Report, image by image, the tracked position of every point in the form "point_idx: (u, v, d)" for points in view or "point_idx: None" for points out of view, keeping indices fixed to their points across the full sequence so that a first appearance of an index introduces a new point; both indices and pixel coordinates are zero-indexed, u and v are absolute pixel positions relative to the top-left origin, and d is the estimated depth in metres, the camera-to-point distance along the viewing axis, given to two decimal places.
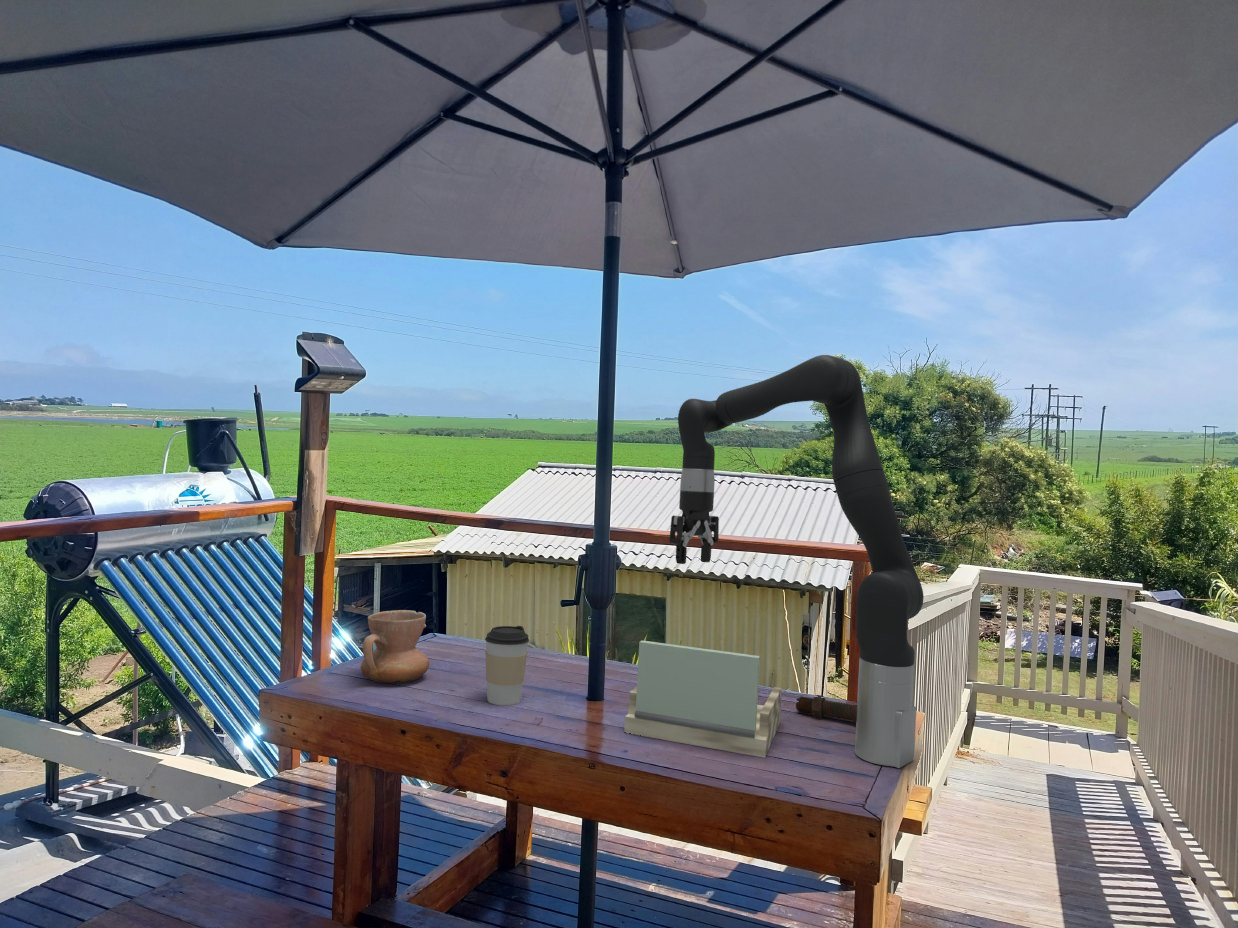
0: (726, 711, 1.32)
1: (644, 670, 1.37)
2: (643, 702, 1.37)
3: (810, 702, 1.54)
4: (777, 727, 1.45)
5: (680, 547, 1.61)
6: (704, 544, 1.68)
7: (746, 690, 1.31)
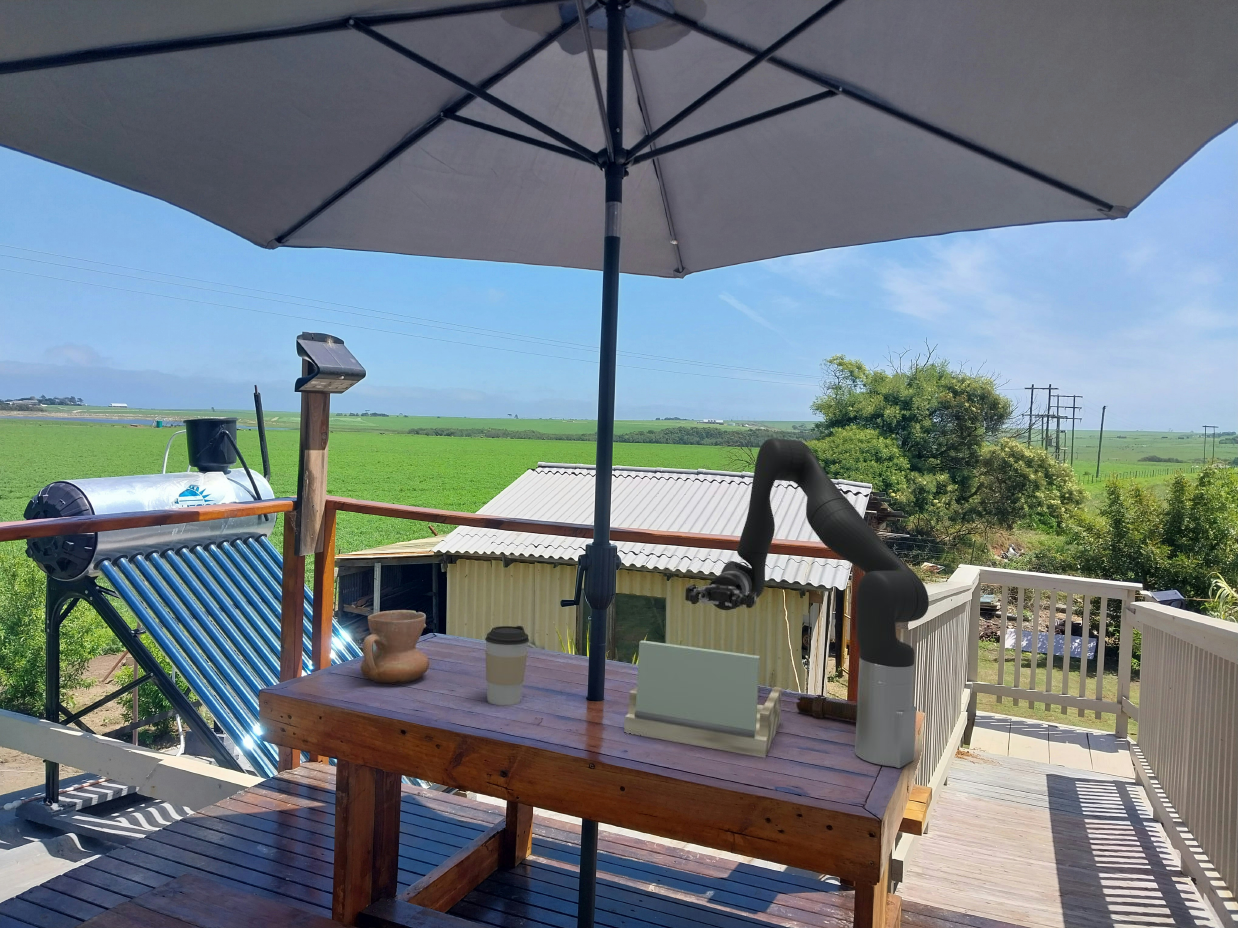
0: (726, 711, 1.32)
1: (644, 670, 1.37)
2: (643, 702, 1.37)
3: (811, 702, 1.54)
4: (777, 727, 1.45)
5: (692, 593, 1.50)
6: None
7: (746, 690, 1.31)
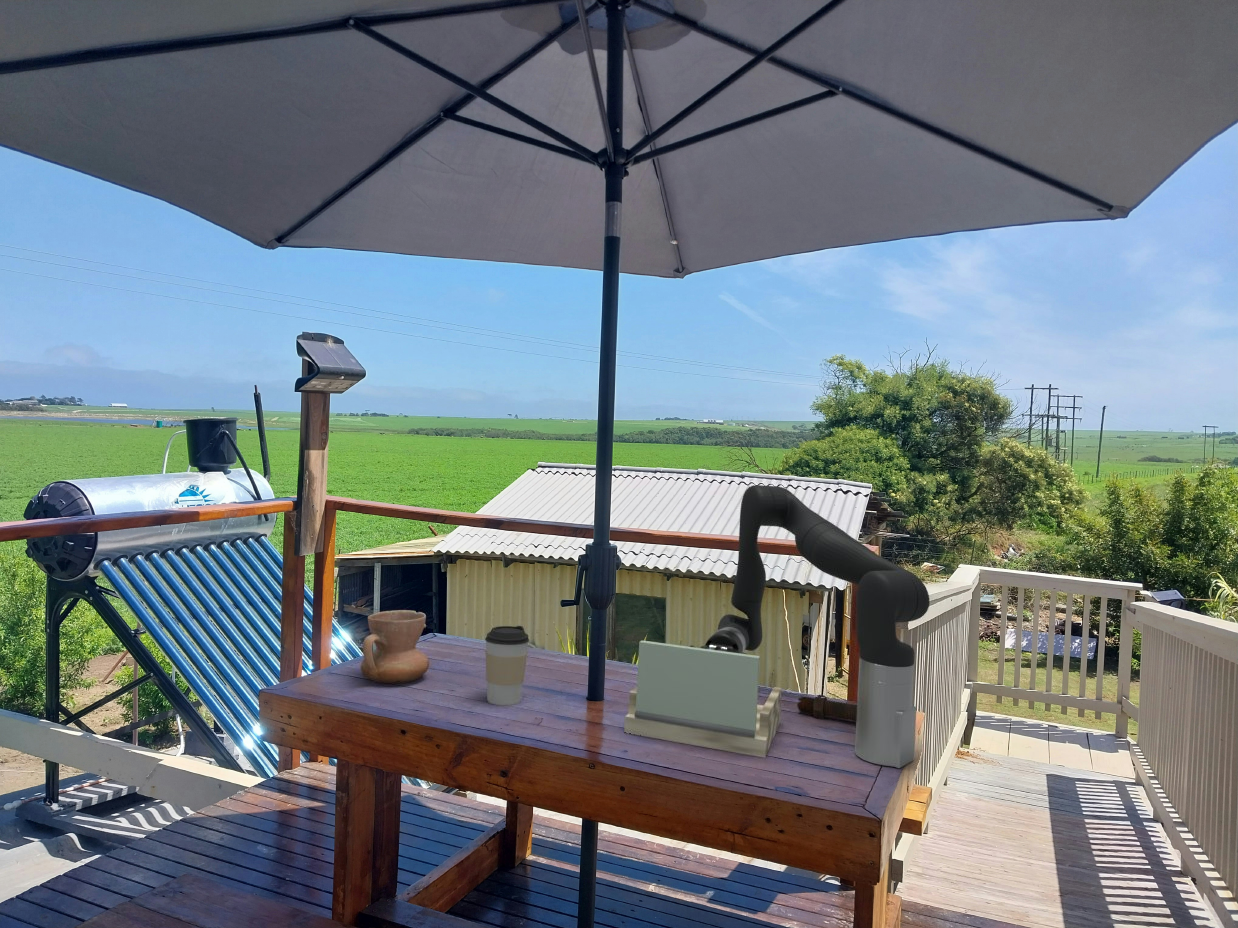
0: (726, 711, 1.32)
1: (644, 670, 1.37)
2: (643, 702, 1.37)
3: (812, 702, 1.54)
4: (777, 727, 1.45)
5: None
6: None
7: (746, 690, 1.31)
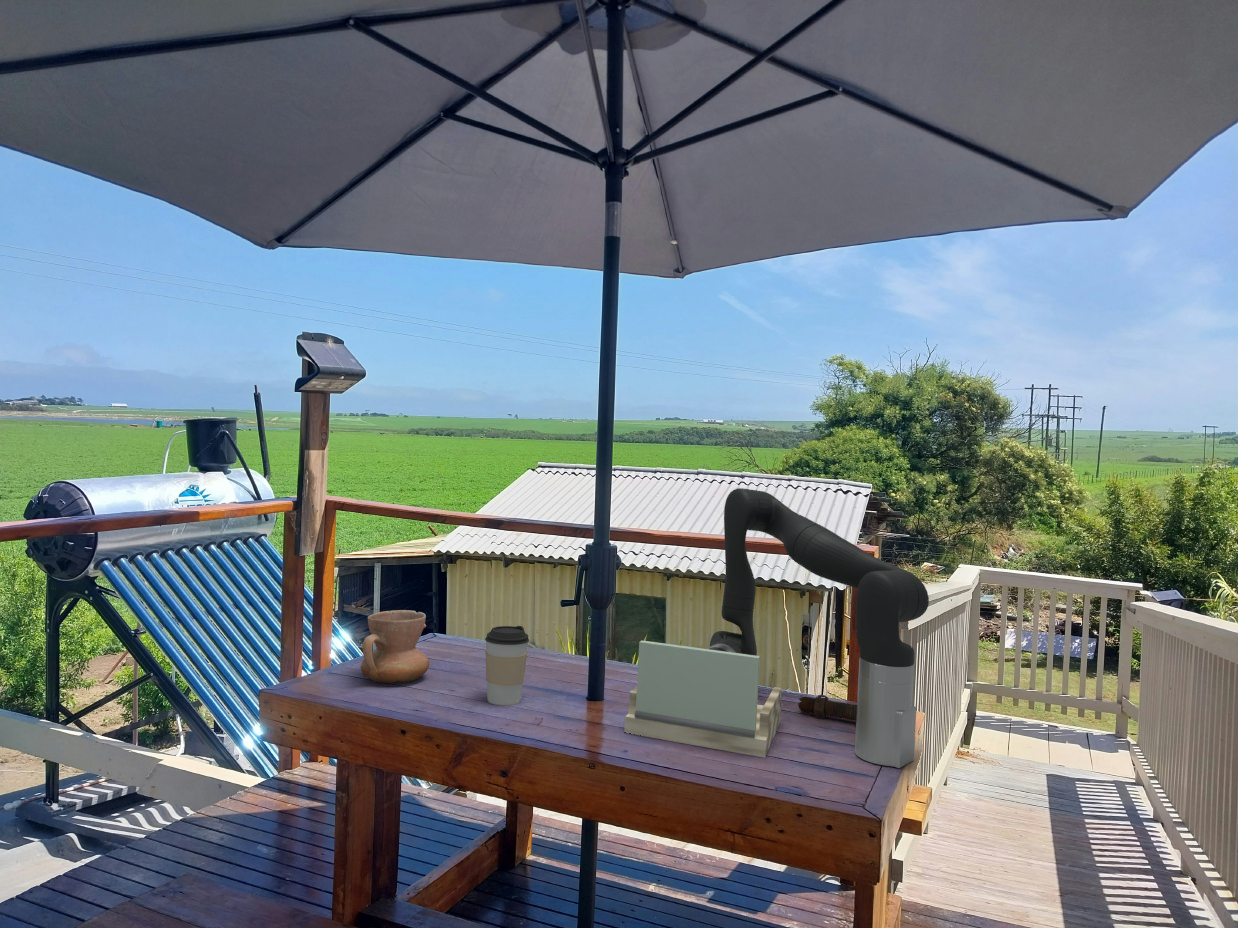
0: (726, 711, 1.32)
1: (644, 670, 1.37)
2: (643, 702, 1.37)
3: (813, 702, 1.54)
4: (777, 727, 1.45)
5: None
6: None
7: (746, 690, 1.31)
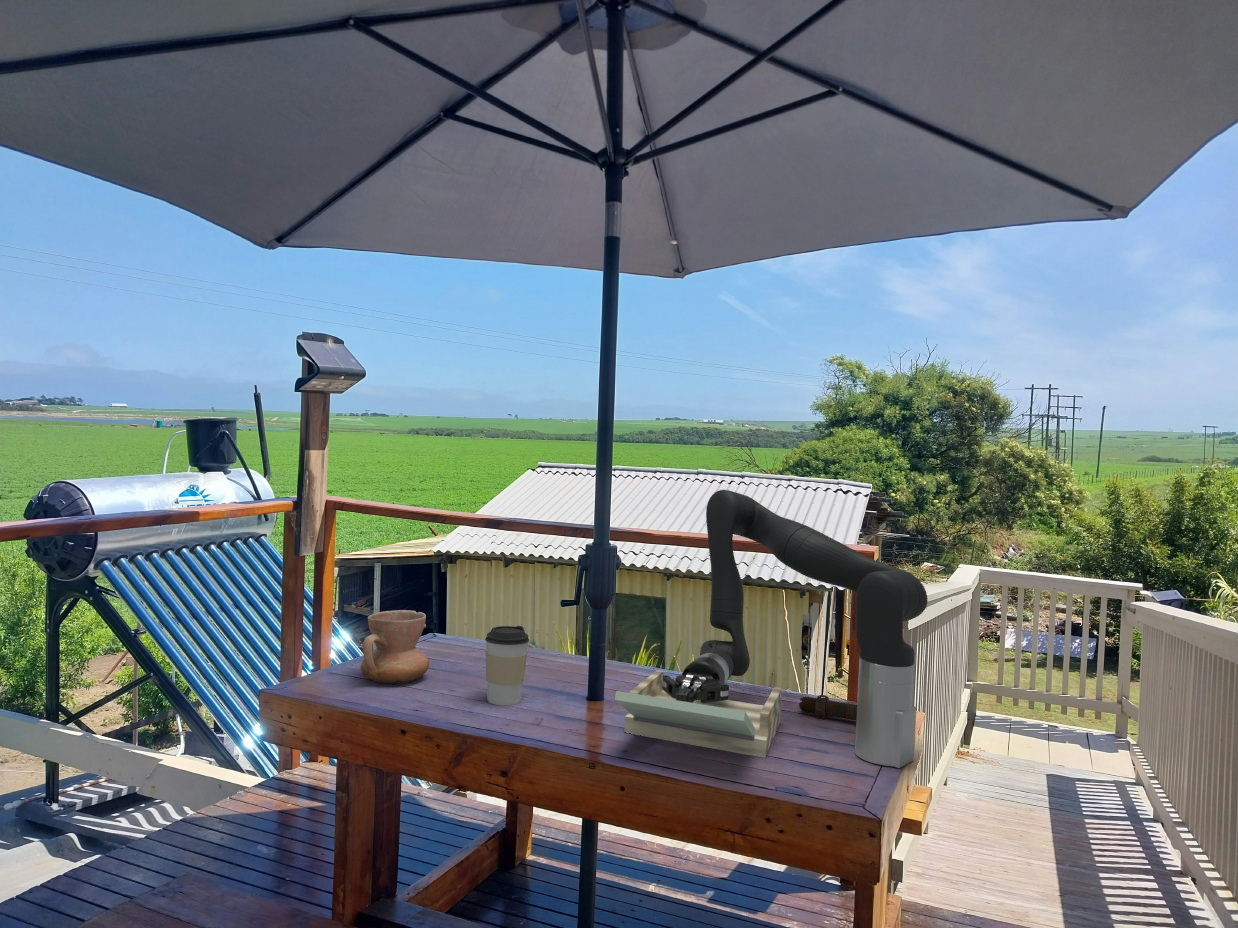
0: (722, 728, 1.29)
1: (629, 707, 1.30)
2: (638, 715, 1.35)
3: (813, 702, 1.54)
4: (777, 727, 1.45)
5: (680, 690, 1.30)
6: None
7: (737, 726, 1.24)
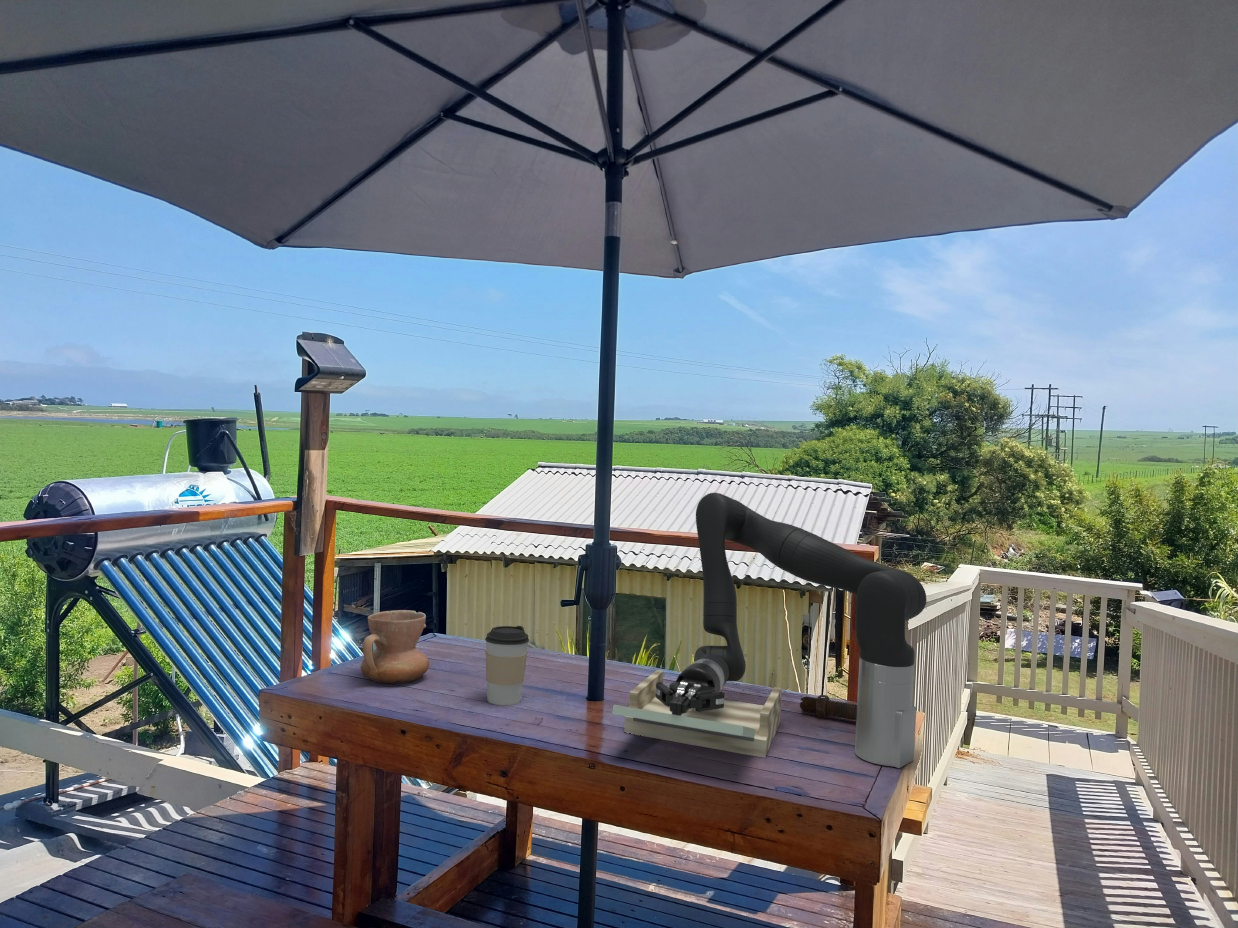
0: None
1: None
2: None
3: (814, 702, 1.54)
4: (777, 727, 1.45)
5: None
6: None
7: None
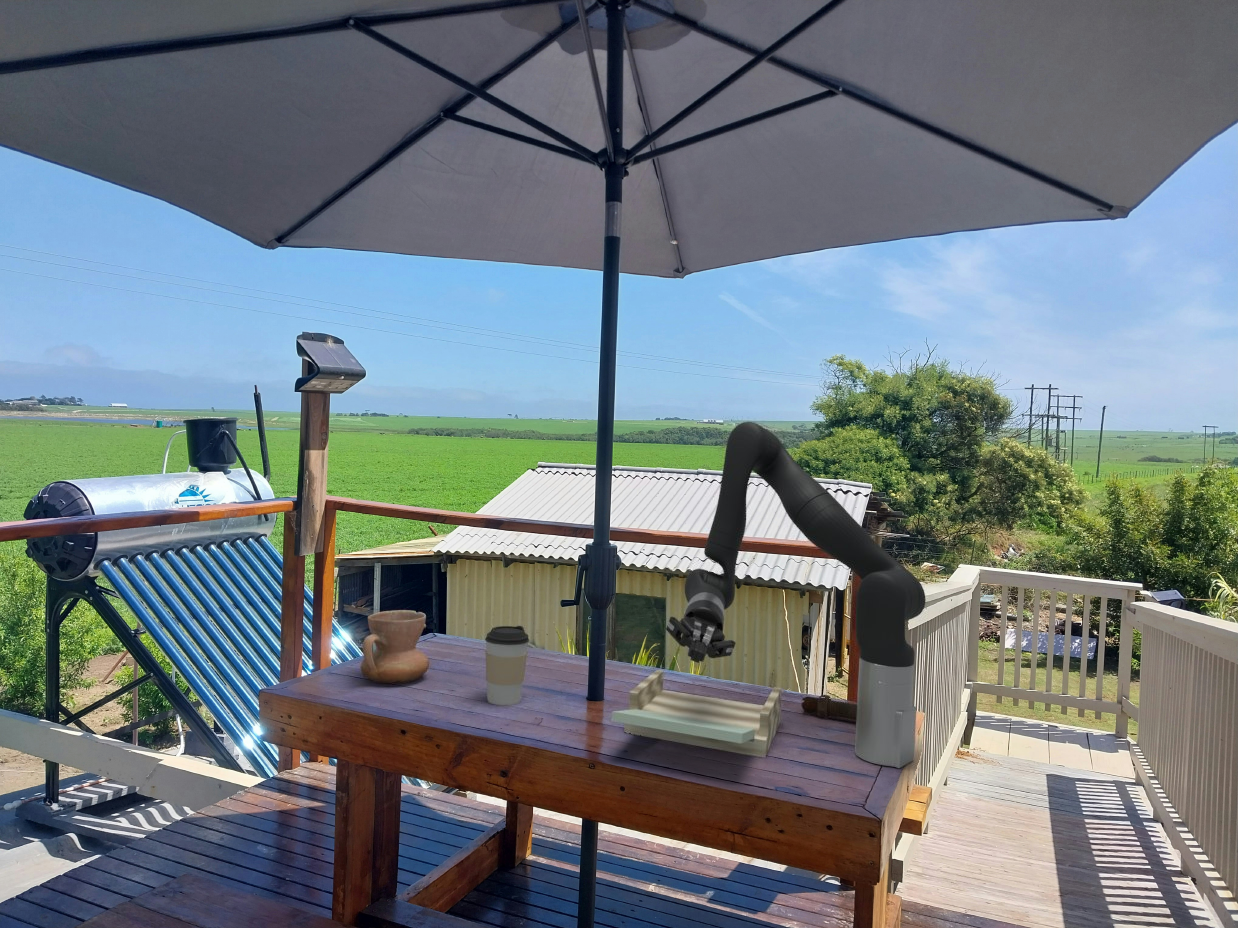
0: None
1: None
2: None
3: (816, 702, 1.54)
4: (777, 727, 1.45)
5: (691, 642, 1.27)
6: None
7: None
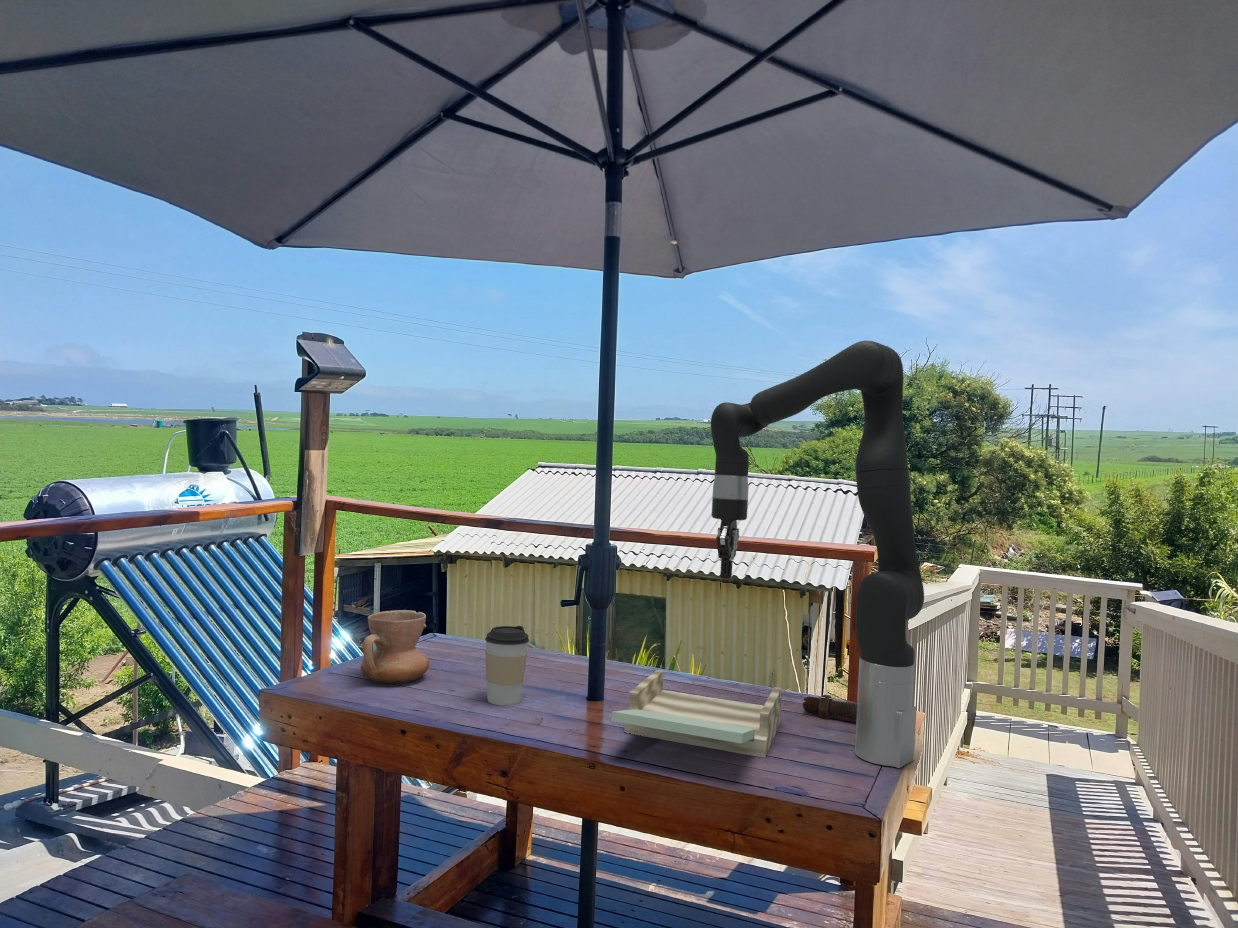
0: None
1: None
2: None
3: (817, 702, 1.54)
4: (777, 727, 1.45)
5: (727, 562, 1.57)
6: None
7: None
